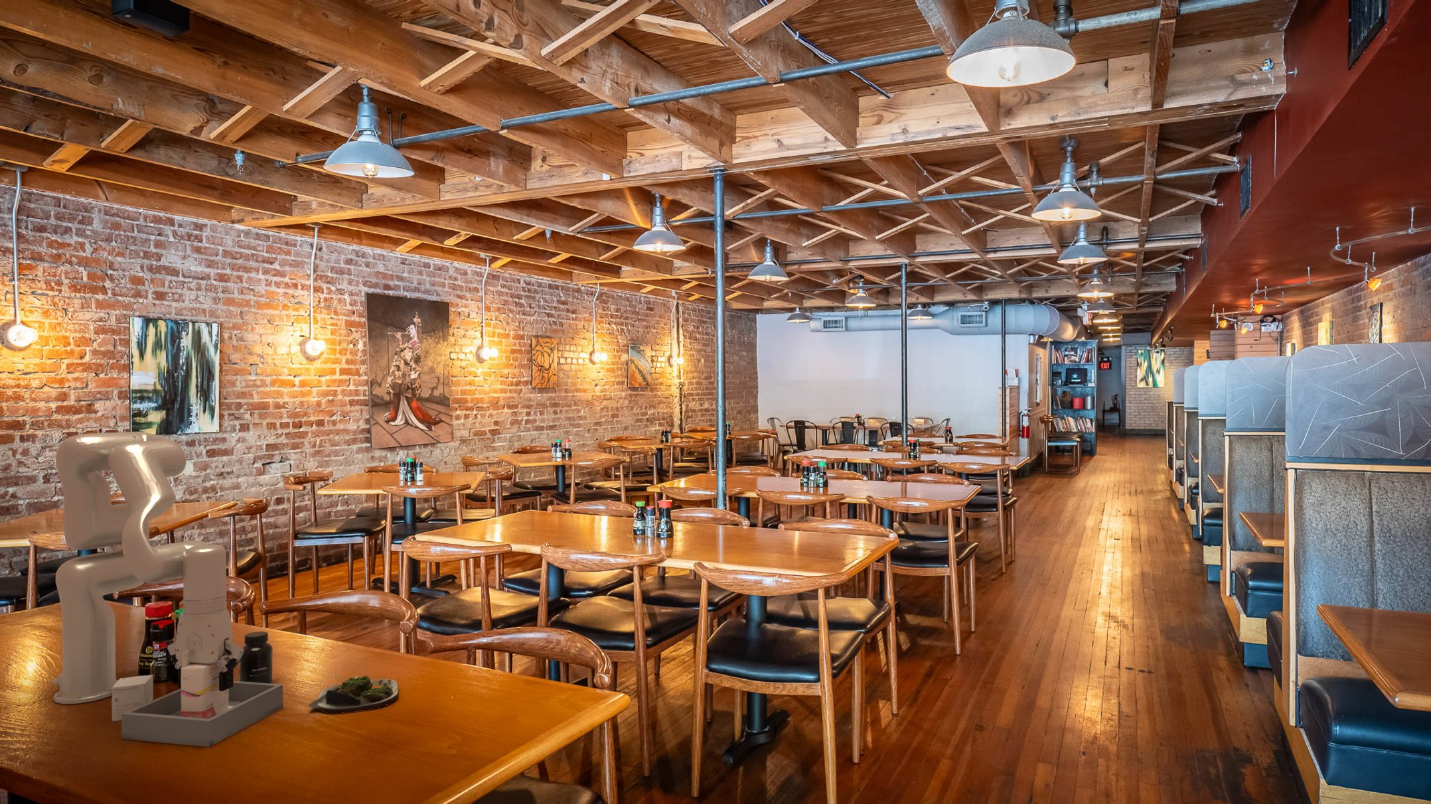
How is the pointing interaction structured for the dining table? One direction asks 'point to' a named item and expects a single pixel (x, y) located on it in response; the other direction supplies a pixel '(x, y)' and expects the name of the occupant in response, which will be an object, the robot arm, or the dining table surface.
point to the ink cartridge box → (201, 690)
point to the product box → (131, 694)
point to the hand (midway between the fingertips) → (206, 687)
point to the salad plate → (356, 695)
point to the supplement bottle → (256, 659)
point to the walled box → (168, 726)
